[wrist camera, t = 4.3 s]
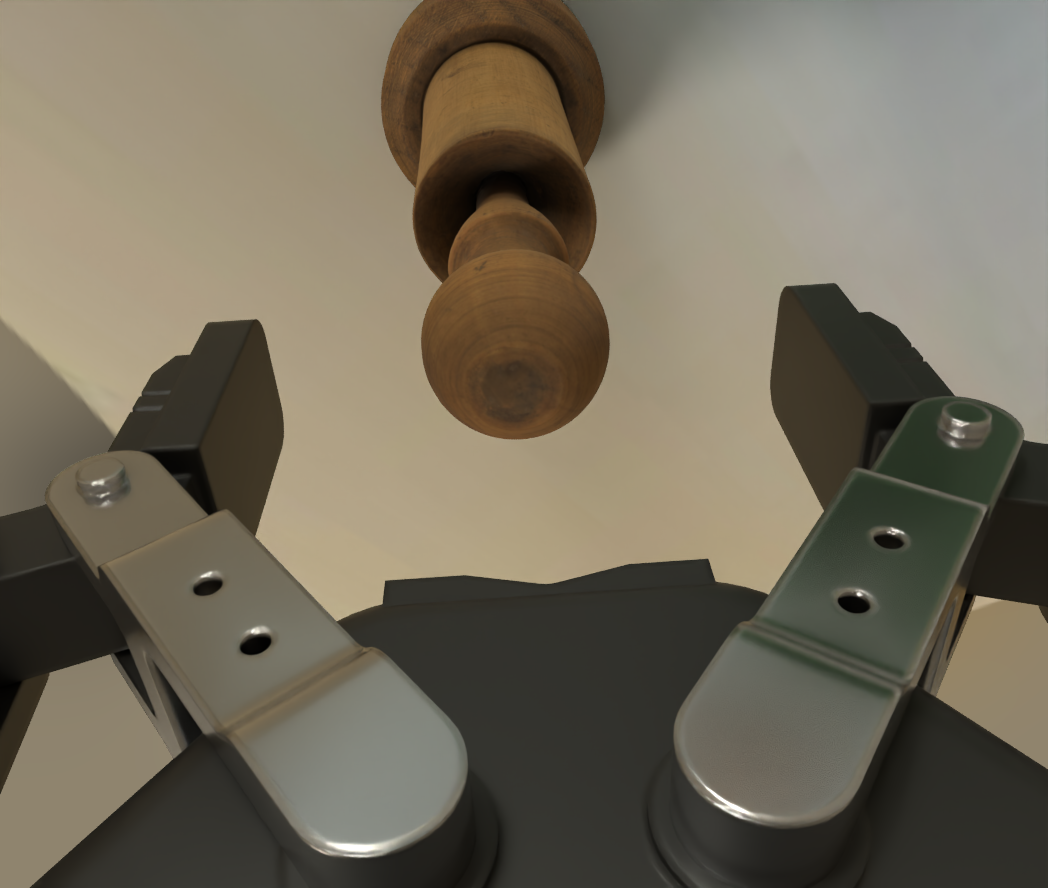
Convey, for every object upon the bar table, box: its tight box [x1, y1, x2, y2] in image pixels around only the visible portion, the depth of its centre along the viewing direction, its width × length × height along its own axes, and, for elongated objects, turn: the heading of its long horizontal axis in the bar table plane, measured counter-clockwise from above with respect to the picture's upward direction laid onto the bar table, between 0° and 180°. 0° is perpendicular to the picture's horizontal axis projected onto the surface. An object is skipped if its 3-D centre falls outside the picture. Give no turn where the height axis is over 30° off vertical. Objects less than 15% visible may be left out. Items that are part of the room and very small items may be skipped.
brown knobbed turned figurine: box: [381, 0, 610, 439], centre depth 21 cm, size 7×6×18 cm
